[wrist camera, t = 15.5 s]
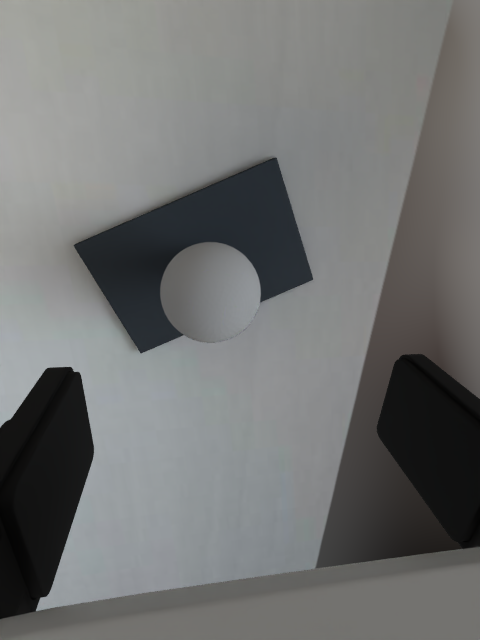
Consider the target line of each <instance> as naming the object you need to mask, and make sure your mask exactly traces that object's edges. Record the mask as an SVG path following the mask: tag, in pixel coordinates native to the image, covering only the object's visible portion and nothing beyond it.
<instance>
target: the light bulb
mask: <svg viewBox="0 0 480 640" xmlns="http://www.w3.org/2000/svg"><path fill="white" fill-rule="evenodd" d="M260 297H261V288H260V282H259V278H258V275H257V273H256V270H255V268H254V267H253V265H252V264H251V262H250V261H249V260H248V259H247V258H246V256H244V255H243V254H242V253H241V252H240V251H238V250H236V249H235V248H233V247H231V246H228V245H226V244H222V243H217V242H204V243H198V244H195V245H192V246H190V247H187V248H185V249H184V250H182V251H181V252H179V253H178V254H177V255H176V256H175V257H174V258H173V259H172V260H171V262H170V263H169V264H168V266H167V268H166V270H165V272H164V274H163V277H162V280H161V287H160V298H161V303H162V307H163V310H164V312H165V314H166V316H167V318H168V320H169V321H170V322H171V324H172V325H173V326H174V327H175V328H176V329H177V330H178V331H179V332H180V333H182V334H184V335H185V336H187V337H189V338H191V339H193V340H197V341H200V342H207V343H215V342H222V341H225V340H228V339H231V338H233V337H235V336H237V335H238V334H240V333H241V332H242V331H243V330H245V329H246V328H247V327H248V325H249V324H250V323H251V322H252V320H253V319H254V317H255V315H256V313H257V311H258V307H259V304H260Z"/></svg>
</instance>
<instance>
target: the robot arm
mask: <svg viewBox="0 0 480 640" xmlns="http://www.w3.org/2000/svg"><path fill="white" fill-rule="evenodd" d="M377 433H378V436H379V438H380V439H381V441H382V442H383V444H384V445H385V446H386V448H387V449H388V451H389V452H390V453H391V455H392V456H393V458H394V459H395V460H396V462H397V463H398V464H399V466H400V467H401V469H402V470H403V472H404V473H405V474H406V476H407V477H408V479H409V480H410V481H411V483H412V484H413V486H414V487H415V488H416V490H417V491H418V493H419V494H420V495H421V497H422V498H423V500H424V501H425V503H426V504H427V505H428V507H429V508H430V509H431V511H432V512H433V514H434V515H435V517H436V518H437V519H438V521H439V522H440V523H441V525H442V526H443V528H444V529H445V531H446V532H447V533H448V535H449V536H450V537H451V538H452V539H453V540H454V541H456V542H458V543H459V544H460V546H461V547H462V549H460V550H452V551H445V552H437V553H429V554H421V555H414V556H406V557H399V558H392V559H384V560H377V561H370V562H362V563H355V564H347V565H340V566H333V567H325V568H318V569H311V570H304V571H296V572H289V573H282V574H275V575H268V576H261V577H254V578H246V579H239V580H232V581H225V582H218V583H211V584H204V585H197V586H190V587H183V588H176V589H169V590H162V591H155V592H148V593H142V594H136V595H129V596H123V597H117V598H111V599H105V600H99V601H92V602H86V603H80V604H74V605H68V606H61V607H55V608H50V609H46V610H41V611H36V608H37V605H38V603H39V600H40V597H46V596H47V595H48V594H49V592H50V590H51V587H52V584H53V581H54V578H55V575H56V572H57V569H58V566H59V563H60V559H61V556H62V553H63V550H64V547H65V544H66V541H67V538H68V535H69V532H70V528H71V525H72V522H73V519H74V516H75V513H76V510H77V507H78V504H79V501H80V497H81V494H82V491H83V488H84V485H85V482H86V479H87V476H88V473H89V470H90V466H91V463H92V460H93V455H94V445H93V440H92V434H91V429H90V423H89V418H88V412H87V406H86V401H85V395H84V390H83V384H82V379H81V375H80V373H79V372H74V371H73V369H72V368H71V367H56V368H47V369H46V370H45V371H44V373H43V374H42V376H41V377H40V378H39V380H38V381H37V383H36V384H35V386H34V387H33V388H32V390H31V391H30V393H29V394H28V396H27V397H26V398H25V400H24V401H23V403H22V404H21V406H20V407H19V408H18V410H17V411H16V413H15V414H14V416H13V417H12V418H11V419H10V420H8V421H6V422H5V423H4V424H3V425H2V426H1V428H0V640H480V399H479V398H477V397H476V396H475V395H474V394H472V393H471V392H470V391H469V390H467V389H466V388H465V387H464V386H462V385H461V384H460V383H458V382H457V381H456V380H455V379H453V378H452V377H451V376H450V375H448V374H447V373H446V372H444V371H443V370H442V369H441V368H439V367H438V366H437V365H436V364H435V363H433V362H432V361H431V360H429V359H428V358H427V357H425V356H424V355H422V354H411V355H402V356H401V357H400V358H399V360H397V361H396V362H395V364H394V367H393V370H392V374H391V378H390V381H389V385H388V388H387V392H386V396H385V399H384V403H383V406H382V410H381V414H380V417H379V421H378V425H377ZM35 611H36V612H35Z"/></svg>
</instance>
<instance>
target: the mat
mask: <svg viewBox="0 0 480 640" xmlns="http://www.w3.org/2000/svg"><path fill="white" fill-rule="evenodd" d="M204 242H217V243H222V244H226V245H228V246H231V247H233V248H235V249H236V250H238V251H240V252H241V253H242V254H243V255H244V256H246V258H247V259H248V260H249V261H250V262H251V264H252V265H253V267H254V268H255V270H256V273H257V275H258V278H259V282H260V288H261V297H260V302H262V301H264V300H267V299H269V298H271V297H274V296H276V295H278V294H281V293H283V292H285V291H288V290H290V289H292V288H295V287H297V286H299V285H302V284H304V283H306V282H309V281H311V280H313V277H312V274H311V271H310V267H309V264H308V261H307V257H306V254H305V251H304V247H303V244H302V241H301V237H300V234H299V231H298V227H297V224H296V221H295V218H294V214H293V211H292V208H291V204H290V201H289V198H288V194H287V191H286V188H285V184H284V181H283V178H282V174H281V171H280V168H279V165H278V161H277V158H272V159H270V160H268V161H266V162H263V163H261V164H259V165H256V166H254V167H252V168H249V169H247V170H245V171H243V172H240V173H238V174H236V175H233V176H231V177H229V178H226V179H224V180H222V181H220V182H217V183H215V184H213V185H210V186H208V187H206V188H203V189H201V190H199V191H197V192H194V193H192V194H190V195H187V196H185V197H183V198H180V199H178V200H176V201H174V202H171V203H169V204H167V205H164V206H162V207H160V208H157V209H155V210H153V211H151V212H148V213H146V214H144V215H141V216H139V217H137V218H134V219H132V220H130V221H128V222H125V223H123V224H121V225H118V226H116V227H114V228H111V229H109V230H107V231H105V232H102V233H100V234H98V235H95V236H93V237H91V238H88V239H86V240H84V241H82V242H79V243H77V244H75V245H74V247H75V249H76V250H77V252H78V254H79V255H80V257H81V258H82V260H83V262H84V263H85V265H86V266H87V268H88V270H89V271H90V273H91V274H92V276H93V278H94V279H95V281H96V282H97V284H98V286H99V287H100V289H101V290H102V292H103V294H104V295H105V297H106V298H107V300H108V302H109V303H110V305H111V306H112V308H113V310H114V311H115V313H116V314H117V316H118V318H119V319H120V321H121V322H122V324H123V326H124V327H125V329H126V330H127V332H128V334H129V335H130V337H131V338H132V340H133V342H134V343H135V345H136V346H137V348H138V350H139V351H140V353H143V352H145V351H148V350H150V349H152V348H155V347H157V346H159V345H162V344H164V343H166V342H169V341H171V340H173V339H176V338H178V337H180V336H183V335H184V334H182V333H180V332H179V331H178V330H177V329H176V328H175V327H174V326H173V325H172V324H171V322H170V321H169V320H168V318H167V316H166V314H165V312H164V310H163V307H162V303H161V298H160V287H161V280H162V277H163V274H164V272H165V270H166V268H167V266H168V264H169V263H170V262H171V260H172V259H173V258H174V257H175V256H176V255H177V254H178V253H179V252H181V251H182V250H184V249H185V248H187V247H190V246H192V245H195V244H198V243H204Z"/></svg>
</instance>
